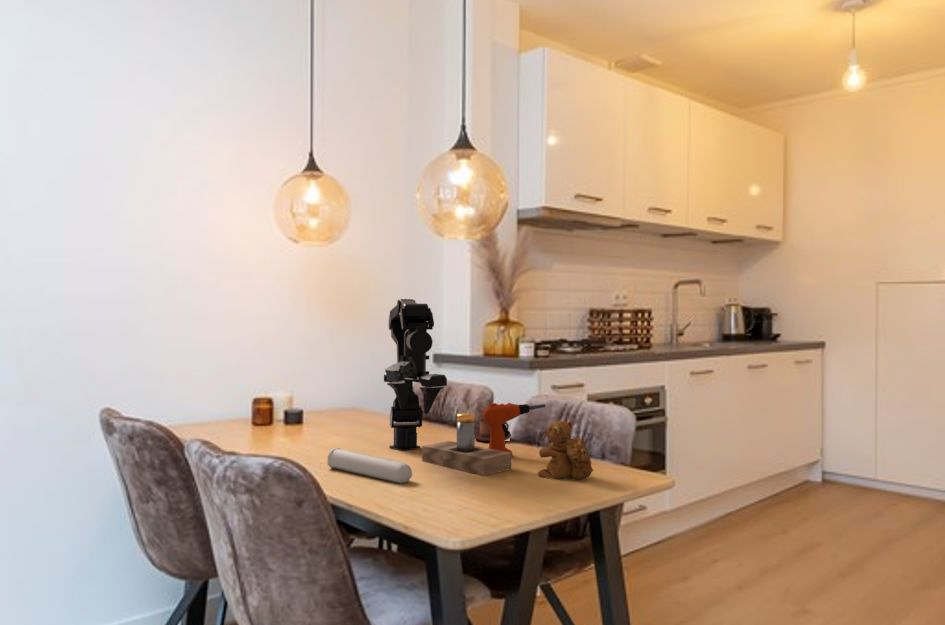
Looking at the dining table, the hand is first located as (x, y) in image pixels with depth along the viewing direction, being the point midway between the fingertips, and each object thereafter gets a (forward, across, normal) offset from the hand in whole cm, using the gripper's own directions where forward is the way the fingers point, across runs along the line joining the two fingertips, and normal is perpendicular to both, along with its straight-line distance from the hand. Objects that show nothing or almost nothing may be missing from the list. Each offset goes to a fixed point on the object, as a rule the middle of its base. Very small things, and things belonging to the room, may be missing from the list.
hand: (414, 411), depth 178 cm
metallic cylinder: (+13, +12, +7) cm, 19 cm away
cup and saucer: (+13, -7, +38) cm, 41 cm away
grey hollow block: (+13, +12, +7) cm, 19 cm away
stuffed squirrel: (+13, +38, +16) cm, 43 cm away
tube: (+14, +4, -17) cm, 22 cm away
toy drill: (+13, +13, +25) cm, 31 cm away
